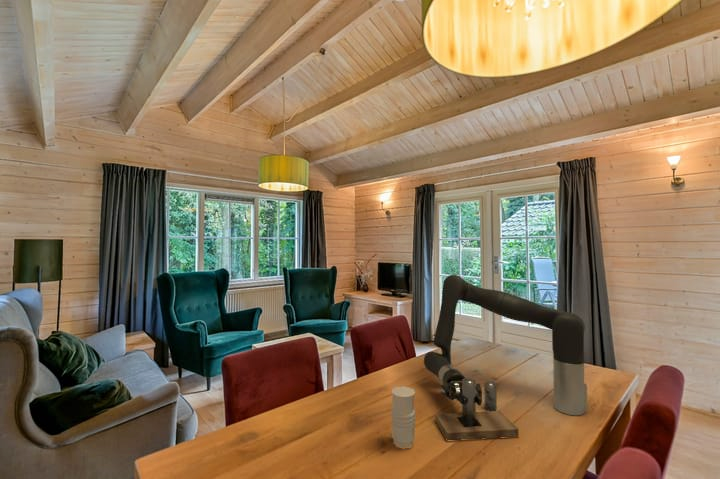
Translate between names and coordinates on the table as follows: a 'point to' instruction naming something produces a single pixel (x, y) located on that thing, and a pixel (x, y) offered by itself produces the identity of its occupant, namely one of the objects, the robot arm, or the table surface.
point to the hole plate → (486, 422)
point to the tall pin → (469, 402)
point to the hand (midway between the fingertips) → (472, 402)
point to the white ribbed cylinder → (403, 416)
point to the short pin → (490, 395)
